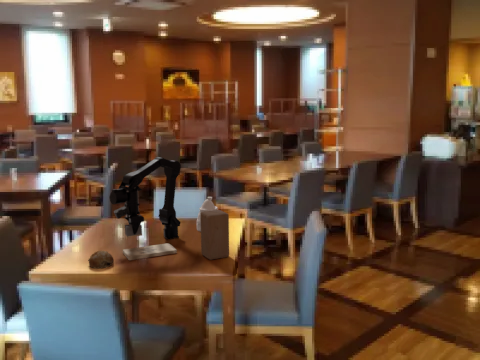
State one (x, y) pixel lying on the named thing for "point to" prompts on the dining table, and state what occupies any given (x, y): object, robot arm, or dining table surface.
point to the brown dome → (101, 259)
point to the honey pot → (205, 206)
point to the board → (149, 251)
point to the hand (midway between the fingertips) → (133, 233)
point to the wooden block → (214, 234)
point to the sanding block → (130, 231)
